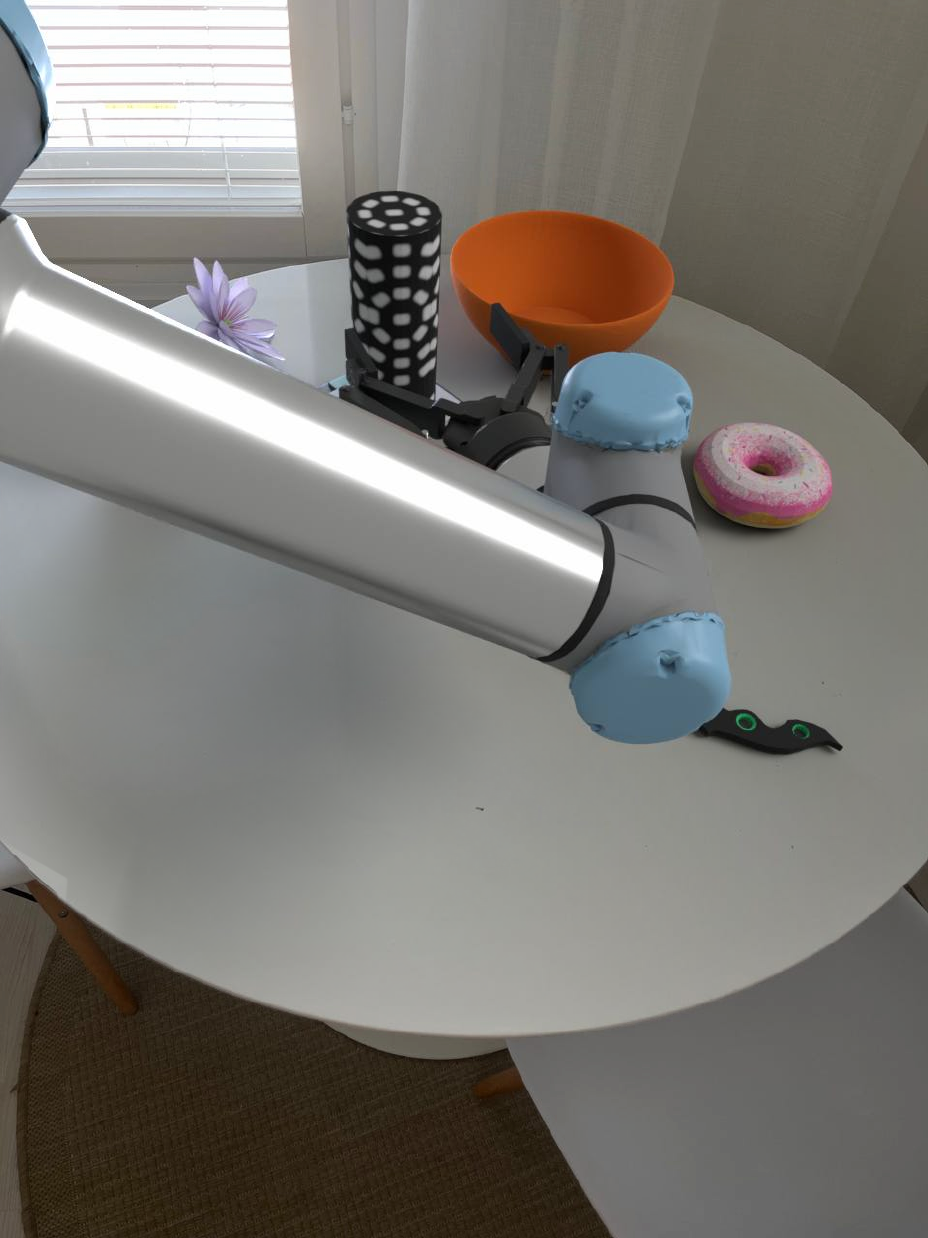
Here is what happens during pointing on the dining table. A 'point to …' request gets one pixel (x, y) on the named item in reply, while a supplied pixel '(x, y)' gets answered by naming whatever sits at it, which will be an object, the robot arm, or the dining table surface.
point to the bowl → (562, 280)
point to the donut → (757, 500)
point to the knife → (768, 733)
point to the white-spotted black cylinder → (396, 285)
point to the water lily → (230, 312)
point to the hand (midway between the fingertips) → (423, 328)
